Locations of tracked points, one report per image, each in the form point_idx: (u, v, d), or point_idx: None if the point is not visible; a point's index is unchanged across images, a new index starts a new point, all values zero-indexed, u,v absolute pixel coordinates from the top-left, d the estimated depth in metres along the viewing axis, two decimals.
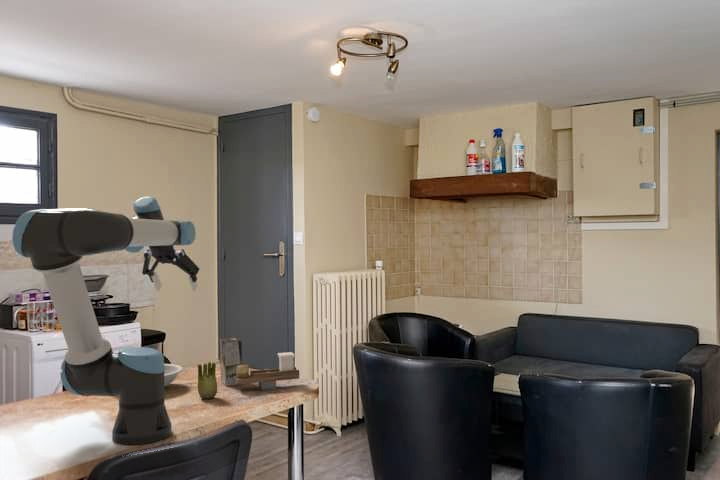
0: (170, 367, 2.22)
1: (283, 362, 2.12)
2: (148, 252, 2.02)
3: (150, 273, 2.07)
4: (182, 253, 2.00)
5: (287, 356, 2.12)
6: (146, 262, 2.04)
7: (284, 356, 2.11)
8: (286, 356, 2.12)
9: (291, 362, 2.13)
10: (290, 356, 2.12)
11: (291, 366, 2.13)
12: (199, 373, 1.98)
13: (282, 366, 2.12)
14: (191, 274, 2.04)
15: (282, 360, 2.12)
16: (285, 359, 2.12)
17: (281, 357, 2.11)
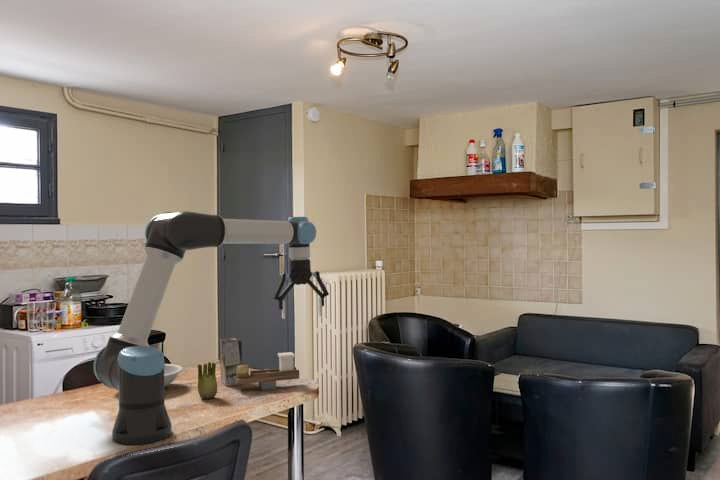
0: (170, 367, 2.22)
1: (283, 362, 2.12)
2: None
3: (282, 297, 2.14)
4: None
5: (287, 356, 2.12)
6: (282, 283, 2.14)
7: (284, 356, 2.11)
8: (286, 356, 2.12)
9: (291, 362, 2.13)
10: (290, 356, 2.12)
11: (291, 366, 2.13)
12: (199, 373, 1.98)
13: (282, 366, 2.12)
14: (323, 295, 2.19)
15: (282, 360, 2.12)
16: (285, 359, 2.12)
17: (281, 357, 2.11)
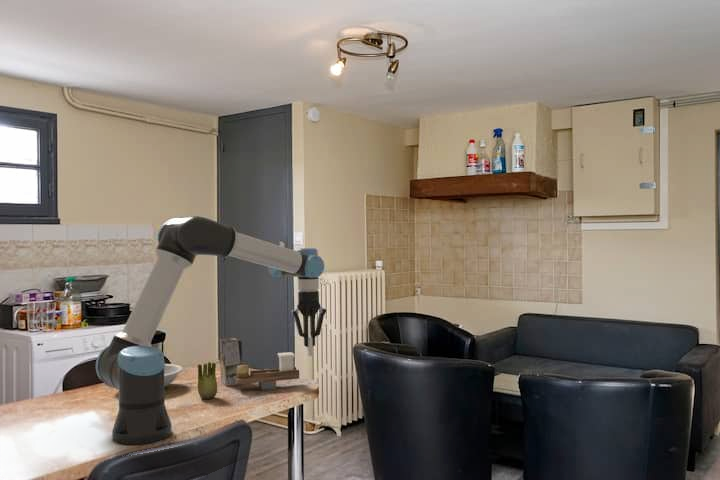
0: (170, 367, 2.22)
1: (283, 362, 2.12)
2: (294, 310, 2.15)
3: (307, 333, 2.16)
4: None
5: (287, 356, 2.12)
6: (298, 320, 2.15)
7: (284, 356, 2.11)
8: (286, 356, 2.12)
9: (291, 362, 2.13)
10: (290, 356, 2.12)
11: (291, 366, 2.13)
12: (199, 373, 1.98)
13: (282, 366, 2.12)
14: (314, 335, 2.16)
15: (282, 360, 2.12)
16: (285, 359, 2.12)
17: (281, 357, 2.11)
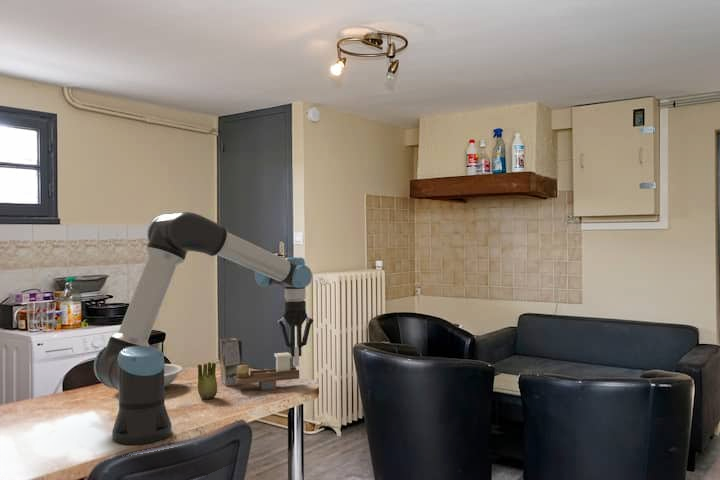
0: (170, 367, 2.22)
1: (280, 362, 2.12)
2: (281, 319, 2.13)
3: (293, 343, 2.14)
4: None
5: (284, 356, 2.11)
6: (284, 330, 2.13)
7: (281, 356, 2.11)
8: (283, 356, 2.11)
9: (288, 362, 2.13)
10: (287, 356, 2.12)
11: (288, 366, 2.13)
12: (199, 373, 1.98)
13: (279, 366, 2.12)
14: (300, 346, 2.15)
15: (279, 360, 2.12)
16: (282, 359, 2.12)
17: (278, 357, 2.11)
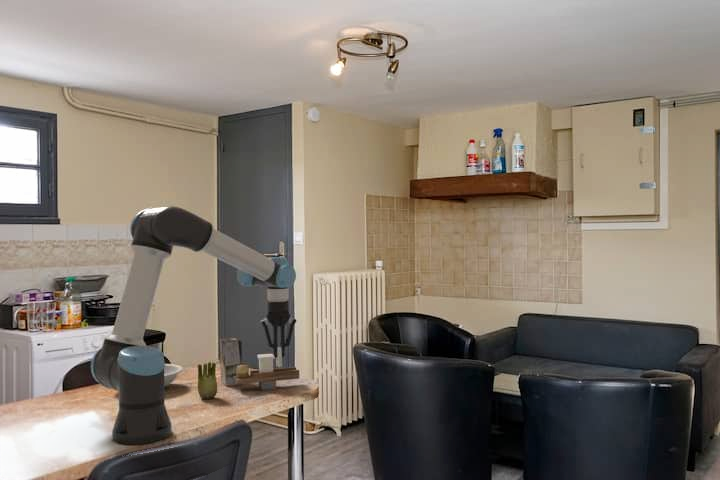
0: (170, 367, 2.22)
1: (262, 364, 2.10)
2: (263, 320, 2.11)
3: (276, 344, 2.12)
4: None
5: (266, 358, 2.09)
6: (267, 330, 2.11)
7: (263, 358, 2.09)
8: (265, 358, 2.09)
9: (271, 364, 2.11)
10: (269, 358, 2.10)
11: (271, 368, 2.11)
12: (199, 373, 1.98)
13: (261, 368, 2.10)
14: (283, 346, 2.13)
15: (261, 362, 2.10)
16: (264, 361, 2.10)
17: (260, 359, 2.09)
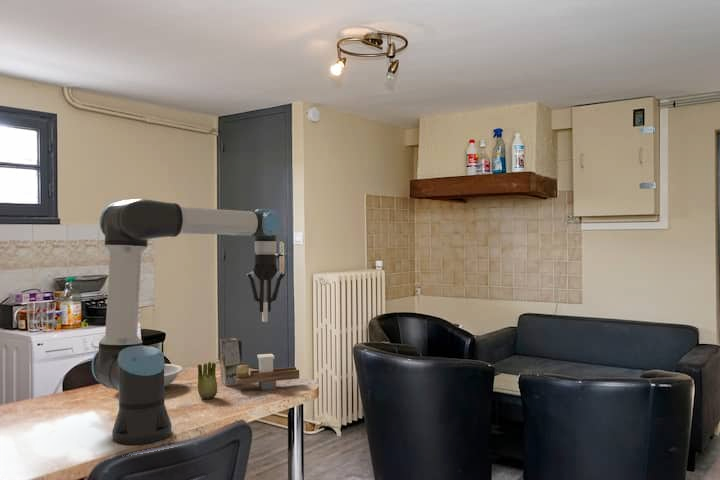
0: (170, 367, 2.22)
1: (262, 364, 2.10)
2: (250, 273, 2.06)
3: (262, 298, 2.06)
4: None
5: (266, 358, 2.09)
6: (253, 283, 2.05)
7: (263, 358, 2.09)
8: (265, 358, 2.09)
9: (271, 364, 2.11)
10: (269, 358, 2.10)
11: (271, 368, 2.11)
12: (199, 373, 1.98)
13: (261, 368, 2.10)
14: (270, 301, 2.07)
15: (261, 362, 2.10)
16: (264, 361, 2.10)
17: (260, 359, 2.09)
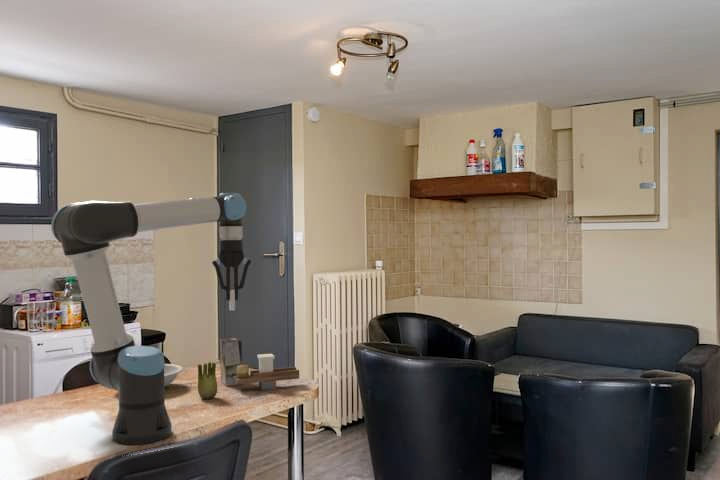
0: (170, 367, 2.22)
1: (262, 364, 2.10)
2: (215, 260, 1.97)
3: (228, 286, 1.98)
4: (249, 263, 2.01)
5: (266, 358, 2.09)
6: (219, 271, 1.97)
7: (263, 358, 2.09)
8: (265, 358, 2.09)
9: (271, 364, 2.11)
10: (269, 358, 2.10)
11: (271, 368, 2.11)
12: (199, 373, 1.98)
13: (261, 368, 2.10)
14: (237, 288, 1.98)
15: (261, 362, 2.10)
16: (264, 361, 2.10)
17: (260, 359, 2.09)
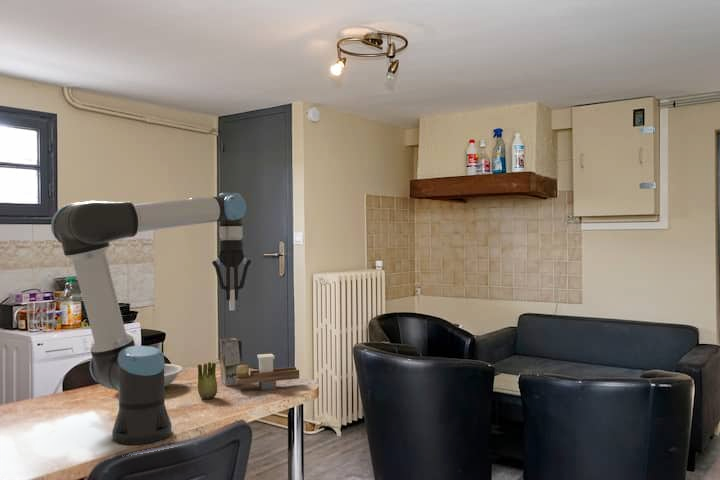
0: (170, 367, 2.22)
1: (262, 364, 2.10)
2: (215, 260, 1.97)
3: (228, 286, 1.98)
4: (249, 262, 2.01)
5: (266, 358, 2.09)
6: (219, 271, 1.97)
7: (263, 358, 2.09)
8: (265, 358, 2.09)
9: (271, 364, 2.11)
10: (269, 358, 2.10)
11: (271, 368, 2.11)
12: (199, 373, 1.98)
13: (261, 368, 2.10)
14: (237, 288, 1.98)
15: (261, 362, 2.10)
16: (264, 361, 2.10)
17: (260, 359, 2.09)
